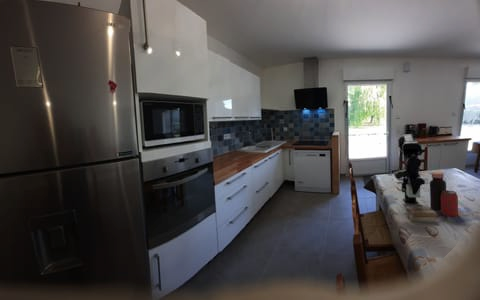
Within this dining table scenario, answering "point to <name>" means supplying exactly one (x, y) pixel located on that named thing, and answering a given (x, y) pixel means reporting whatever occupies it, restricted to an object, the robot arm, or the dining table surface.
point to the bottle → (436, 190)
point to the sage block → (409, 191)
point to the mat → (421, 222)
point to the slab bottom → (421, 218)
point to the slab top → (421, 211)
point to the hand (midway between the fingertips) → (413, 193)
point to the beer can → (449, 203)
